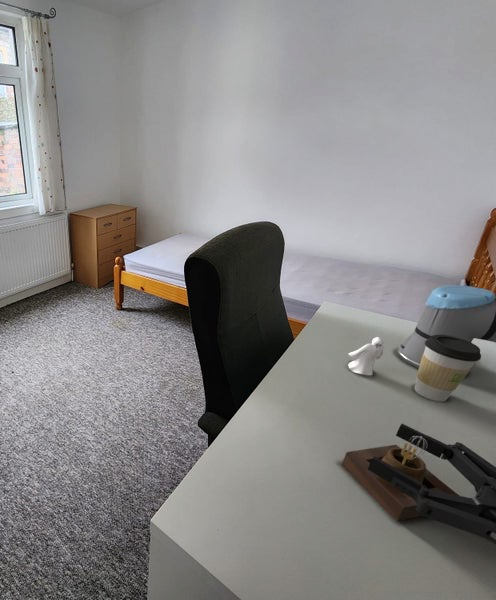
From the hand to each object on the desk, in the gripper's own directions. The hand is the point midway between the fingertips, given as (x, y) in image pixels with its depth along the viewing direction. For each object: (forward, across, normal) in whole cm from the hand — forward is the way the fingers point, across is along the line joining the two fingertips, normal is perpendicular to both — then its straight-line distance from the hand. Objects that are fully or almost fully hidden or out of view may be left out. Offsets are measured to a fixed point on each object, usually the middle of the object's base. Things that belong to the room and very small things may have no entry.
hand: (385, 444), depth 63 cm
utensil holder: (-3, 0, -8) cm, 8 cm away
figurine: (+16, +38, -8) cm, 41 cm away
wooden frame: (-3, 0, -7) cm, 8 cm away
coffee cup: (+1, +41, -8) cm, 41 cm away
